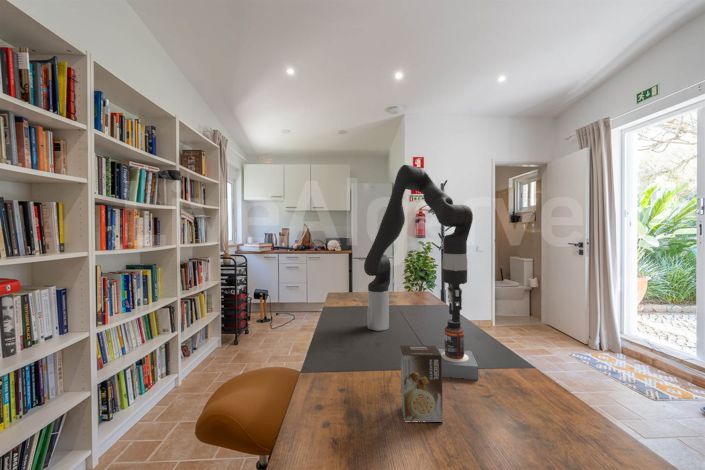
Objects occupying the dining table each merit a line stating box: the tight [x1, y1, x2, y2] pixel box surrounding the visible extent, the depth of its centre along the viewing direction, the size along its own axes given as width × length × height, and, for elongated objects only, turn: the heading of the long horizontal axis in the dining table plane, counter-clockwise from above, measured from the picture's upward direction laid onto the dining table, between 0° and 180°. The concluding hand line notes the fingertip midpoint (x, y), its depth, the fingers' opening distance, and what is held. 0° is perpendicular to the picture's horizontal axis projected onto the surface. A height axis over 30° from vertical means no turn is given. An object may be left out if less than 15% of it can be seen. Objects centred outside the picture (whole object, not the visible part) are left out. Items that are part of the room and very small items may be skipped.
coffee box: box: [399, 344, 444, 423], centre depth 75 cm, size 9×6×16 cm
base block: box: [437, 348, 479, 381], centre depth 99 cm, size 12×12×4 cm
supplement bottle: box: [444, 318, 465, 359], centre depth 99 cm, size 6×6×11 cm
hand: (454, 318), depth 99 cm, fingers open, 8 cm apart
